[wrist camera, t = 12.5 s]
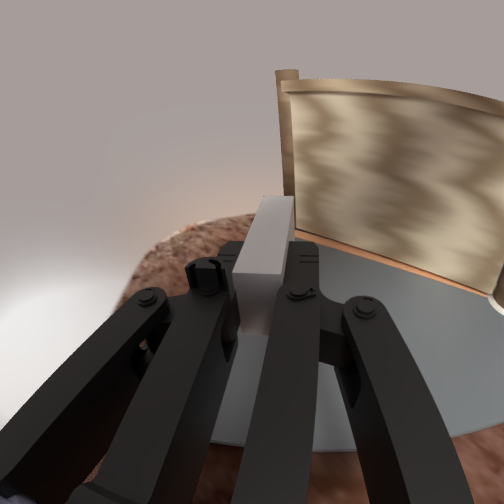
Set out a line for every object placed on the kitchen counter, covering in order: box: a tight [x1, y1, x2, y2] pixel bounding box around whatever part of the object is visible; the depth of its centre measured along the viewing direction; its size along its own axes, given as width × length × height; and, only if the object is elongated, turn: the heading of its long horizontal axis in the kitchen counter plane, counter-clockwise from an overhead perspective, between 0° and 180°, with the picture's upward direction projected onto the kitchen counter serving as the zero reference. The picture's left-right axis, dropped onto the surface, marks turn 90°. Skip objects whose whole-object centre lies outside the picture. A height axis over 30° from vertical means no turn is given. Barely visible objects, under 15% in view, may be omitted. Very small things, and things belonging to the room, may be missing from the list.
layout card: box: [210, 228, 504, 452], centre depth 18 cm, size 35×22×1 cm, turn 81°
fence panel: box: [275, 70, 504, 294], centre depth 20 cm, size 21×2×15 cm, turn 47°
